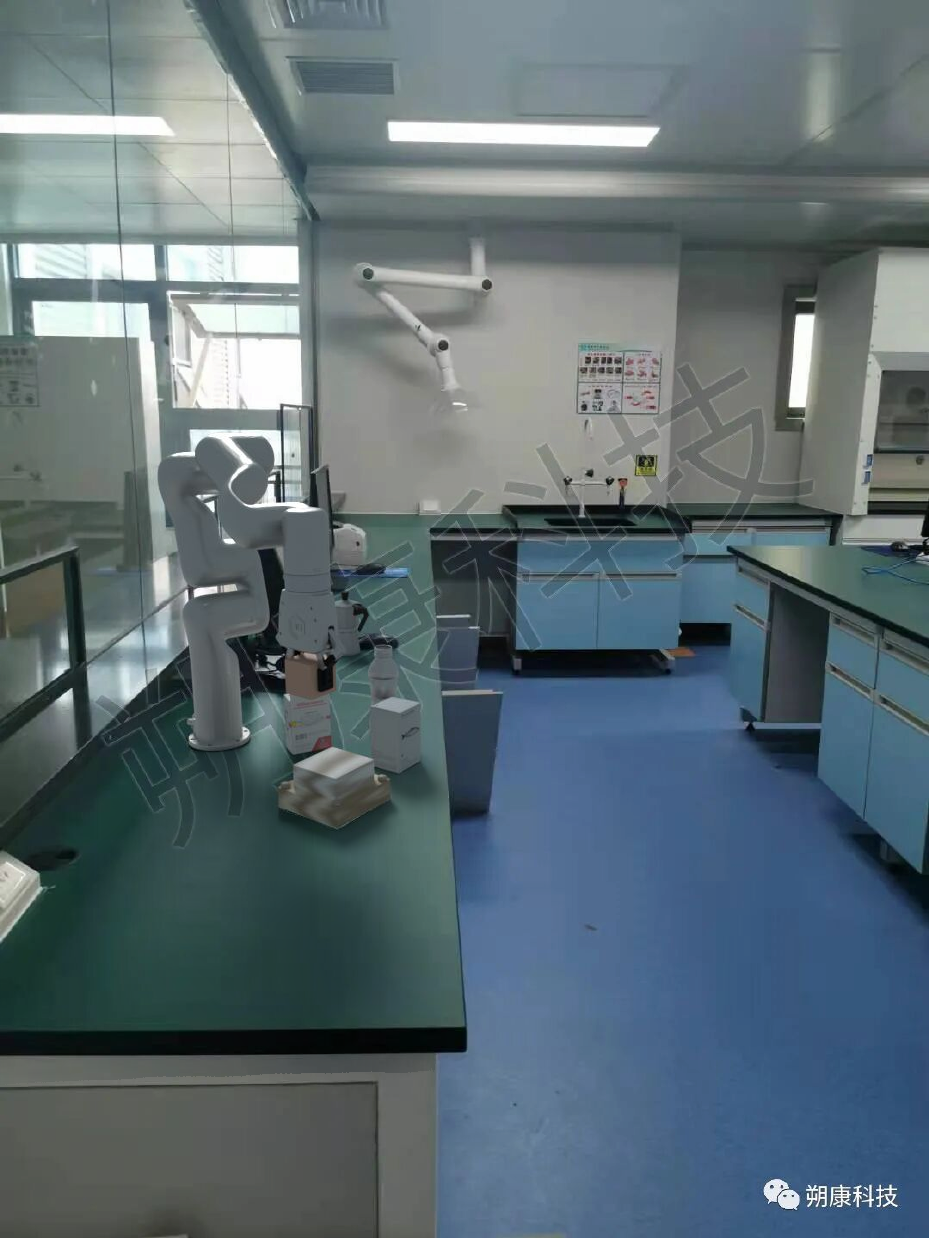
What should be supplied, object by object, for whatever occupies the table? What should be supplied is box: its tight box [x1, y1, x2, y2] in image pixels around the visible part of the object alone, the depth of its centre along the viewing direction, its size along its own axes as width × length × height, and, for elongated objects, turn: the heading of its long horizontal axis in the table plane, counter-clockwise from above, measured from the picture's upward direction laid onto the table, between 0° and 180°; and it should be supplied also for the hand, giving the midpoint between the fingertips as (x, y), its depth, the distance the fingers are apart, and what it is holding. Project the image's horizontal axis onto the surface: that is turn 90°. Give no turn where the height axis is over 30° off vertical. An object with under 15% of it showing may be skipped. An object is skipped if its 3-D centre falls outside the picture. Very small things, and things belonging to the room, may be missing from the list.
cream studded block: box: [277, 746, 391, 828], centre depth 149 cm, size 14×14×8 cm
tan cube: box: [284, 652, 337, 700], centre depth 142 cm, size 6×6×6 cm
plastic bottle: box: [367, 644, 400, 729], centre depth 178 cm, size 6×7×20 cm
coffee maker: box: [332, 590, 370, 657], centre depth 240 cm, size 15×9×18 cm, turn 55°
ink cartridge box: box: [283, 693, 333, 756], centre depth 172 cm, size 9×5×15 cm, turn 117°
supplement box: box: [369, 697, 421, 774], centre depth 165 cm, size 7×7×13 cm
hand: (311, 685), depth 143 cm, fingers closed on tan cube, 6 cm apart
